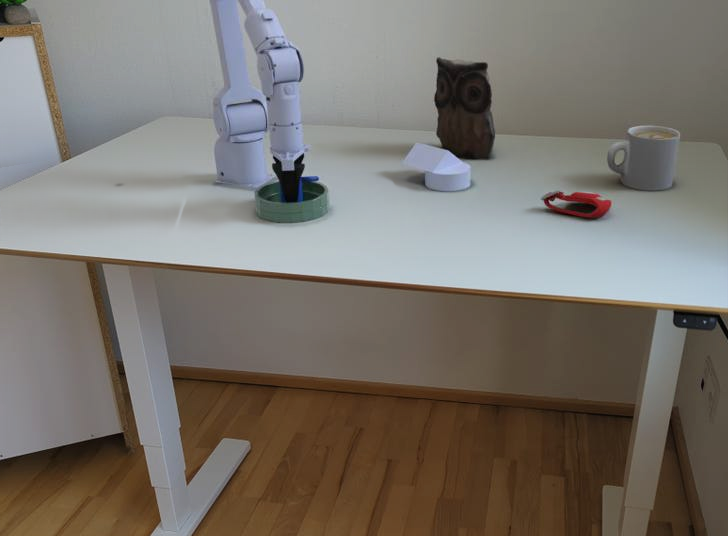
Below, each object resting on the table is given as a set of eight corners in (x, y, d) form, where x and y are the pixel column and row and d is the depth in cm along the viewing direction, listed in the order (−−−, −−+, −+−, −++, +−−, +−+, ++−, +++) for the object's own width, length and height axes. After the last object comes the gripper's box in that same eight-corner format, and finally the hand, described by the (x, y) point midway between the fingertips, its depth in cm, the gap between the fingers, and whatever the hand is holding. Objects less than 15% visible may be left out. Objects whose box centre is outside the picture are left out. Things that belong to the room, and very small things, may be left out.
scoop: (281, 207, 143) (278, 180, 140) (281, 200, 146) (278, 173, 144) (321, 205, 144) (319, 178, 141) (320, 198, 147) (318, 171, 145)
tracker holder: (590, 192, 150) (625, 195, 142) (587, 216, 151) (621, 220, 143) (537, 186, 145) (570, 189, 136) (534, 211, 146) (566, 215, 137)
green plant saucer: (242, 219, 143) (240, 198, 141) (280, 196, 153) (278, 176, 151) (307, 229, 138) (305, 207, 136) (341, 205, 149) (340, 184, 147)
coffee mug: (667, 175, 163) (675, 126, 157) (676, 191, 154) (684, 140, 149) (601, 173, 164) (607, 124, 159) (605, 189, 155) (612, 138, 150)
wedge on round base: (401, 180, 161) (449, 194, 153) (401, 147, 158) (450, 160, 150) (431, 169, 167) (479, 183, 159) (431, 137, 163) (480, 150, 156)
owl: (495, 160, 172) (499, 63, 162) (437, 162, 171) (438, 64, 161) (487, 144, 183) (490, 52, 172) (432, 145, 182) (432, 53, 172)
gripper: (309, 132, 132) (315, 210, 139) (307, 110, 144) (312, 183, 151) (266, 134, 131) (274, 212, 138) (268, 112, 143) (275, 185, 150)
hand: (291, 197), depth 144 cm, fingers closed on scoop, 4 cm apart
